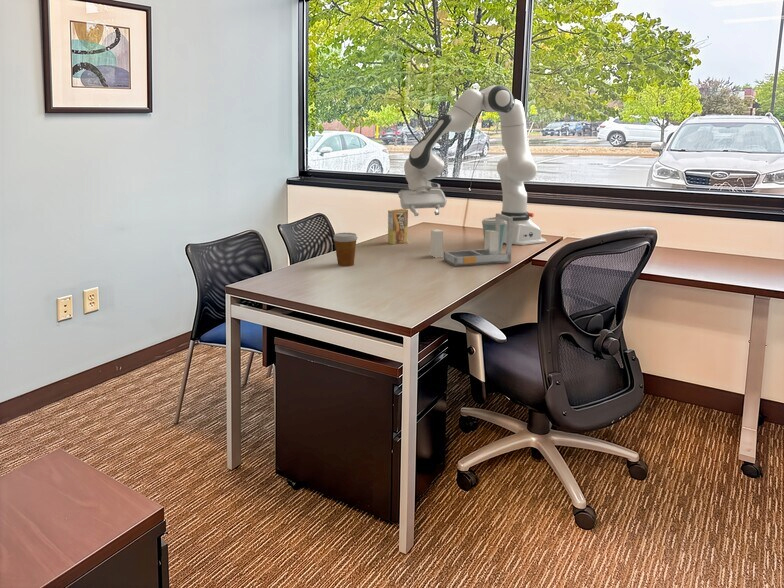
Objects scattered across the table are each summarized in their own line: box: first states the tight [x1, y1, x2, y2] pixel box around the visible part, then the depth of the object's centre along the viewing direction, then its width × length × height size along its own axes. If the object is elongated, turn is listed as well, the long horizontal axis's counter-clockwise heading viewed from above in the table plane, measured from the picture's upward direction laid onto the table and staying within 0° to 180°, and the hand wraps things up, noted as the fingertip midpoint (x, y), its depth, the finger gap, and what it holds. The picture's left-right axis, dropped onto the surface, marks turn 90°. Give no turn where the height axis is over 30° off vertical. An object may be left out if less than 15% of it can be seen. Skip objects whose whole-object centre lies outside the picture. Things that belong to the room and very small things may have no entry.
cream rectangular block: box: [430, 228, 444, 259], centre depth 265 cm, size 4×5×11 cm
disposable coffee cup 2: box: [481, 216, 507, 254], centre depth 272 cm, size 11×11×15 cm
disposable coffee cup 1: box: [332, 232, 358, 267], centre depth 250 cm, size 10×10×12 cm
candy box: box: [387, 208, 409, 245], centre depth 294 cm, size 9×4×15 cm, turn 129°
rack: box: [443, 213, 513, 267], centre depth 255 cm, size 24×12×18 cm, turn 107°
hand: (427, 214), depth 273 cm, fingers open, 8 cm apart
